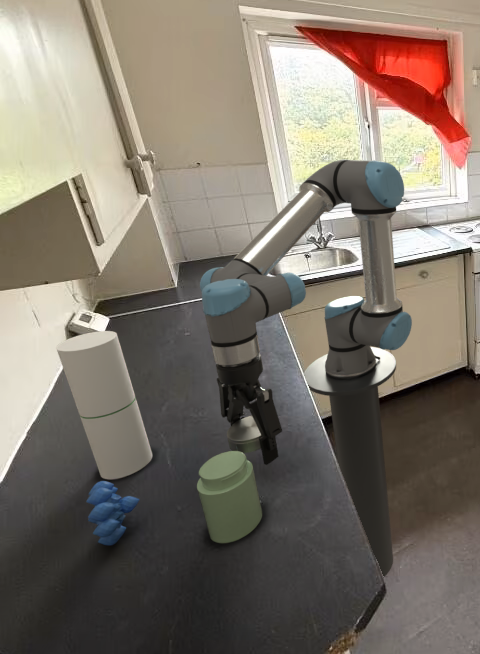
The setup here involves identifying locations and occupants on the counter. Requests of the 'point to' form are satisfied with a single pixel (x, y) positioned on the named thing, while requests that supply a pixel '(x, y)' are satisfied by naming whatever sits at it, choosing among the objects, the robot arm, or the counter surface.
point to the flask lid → (244, 436)
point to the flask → (229, 496)
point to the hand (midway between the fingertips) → (256, 453)
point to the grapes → (109, 511)
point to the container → (106, 402)
